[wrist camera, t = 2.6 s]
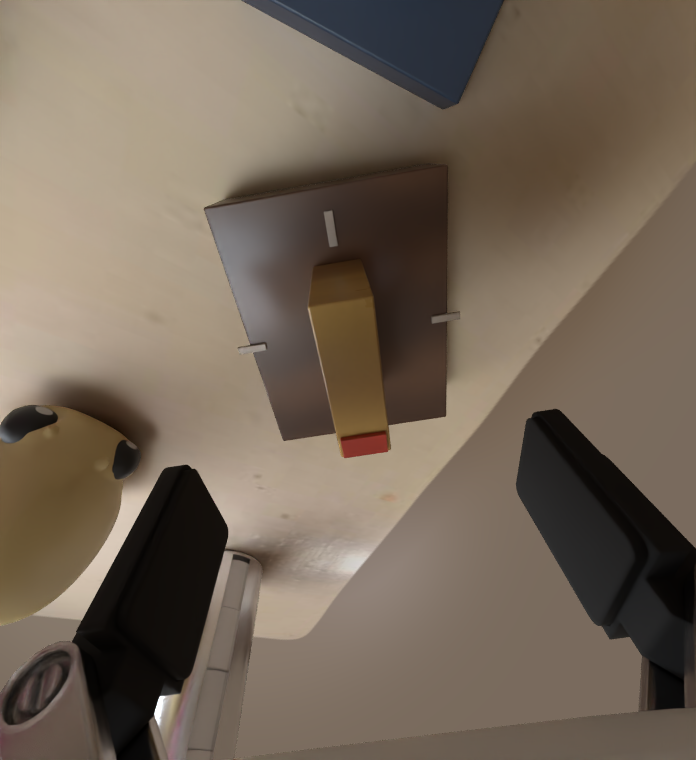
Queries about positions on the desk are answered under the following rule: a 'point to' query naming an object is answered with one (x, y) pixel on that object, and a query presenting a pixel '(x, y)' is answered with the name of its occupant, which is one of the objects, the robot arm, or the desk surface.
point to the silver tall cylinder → (216, 669)
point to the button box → (399, 38)
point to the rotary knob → (350, 356)
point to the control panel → (332, 245)
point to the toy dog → (55, 501)
